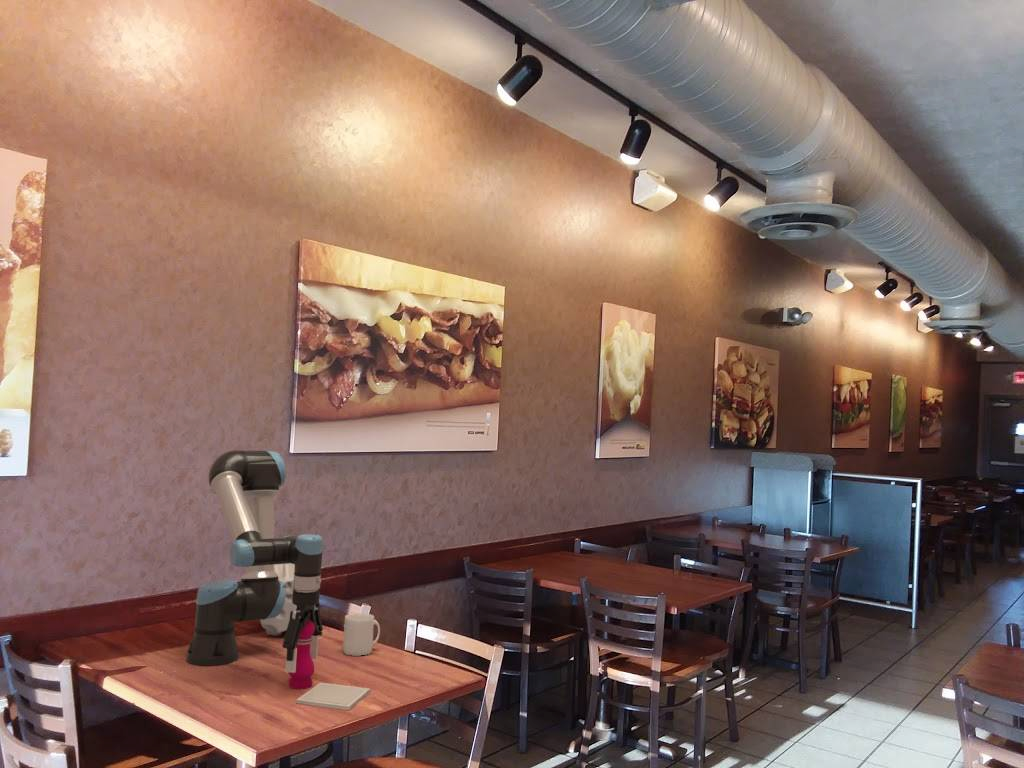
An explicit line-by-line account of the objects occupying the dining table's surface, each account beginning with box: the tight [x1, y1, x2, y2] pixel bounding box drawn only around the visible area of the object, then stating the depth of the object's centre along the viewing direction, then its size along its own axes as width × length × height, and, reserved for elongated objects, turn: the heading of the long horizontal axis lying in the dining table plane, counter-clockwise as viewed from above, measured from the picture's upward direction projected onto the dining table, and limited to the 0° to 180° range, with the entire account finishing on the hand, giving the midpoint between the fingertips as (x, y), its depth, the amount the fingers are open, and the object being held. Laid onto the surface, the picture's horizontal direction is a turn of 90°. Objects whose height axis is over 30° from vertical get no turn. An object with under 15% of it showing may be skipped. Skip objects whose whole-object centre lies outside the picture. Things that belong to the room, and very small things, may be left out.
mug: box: [342, 612, 381, 657], centre depth 264 cm, size 10×12×12 cm
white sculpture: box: [259, 563, 297, 637], centre depth 283 cm, size 20×16×25 cm
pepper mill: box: [287, 621, 315, 690], centre depth 229 cm, size 7×7×20 cm
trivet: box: [295, 682, 371, 711], centre depth 220 cm, size 15×15×1 cm
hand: (301, 665), depth 228 cm, fingers open, 13 cm apart
